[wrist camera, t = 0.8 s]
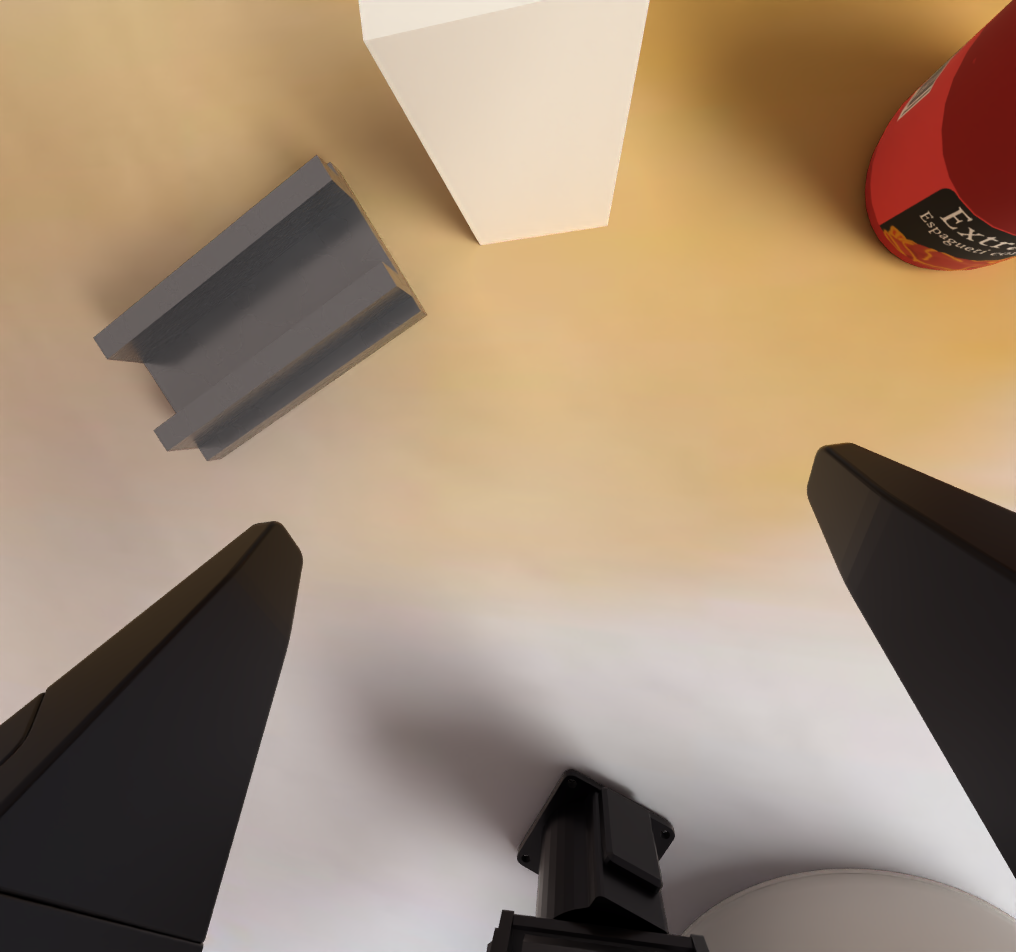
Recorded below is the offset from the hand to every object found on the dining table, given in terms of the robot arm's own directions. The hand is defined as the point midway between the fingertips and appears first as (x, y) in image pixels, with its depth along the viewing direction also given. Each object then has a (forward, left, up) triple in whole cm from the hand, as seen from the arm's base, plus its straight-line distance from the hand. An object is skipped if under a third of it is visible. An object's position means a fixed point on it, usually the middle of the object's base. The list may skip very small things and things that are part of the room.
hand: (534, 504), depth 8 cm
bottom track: (-1, +16, -16) cm, 22 cm away
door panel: (+9, +6, -16) cm, 19 cm away
